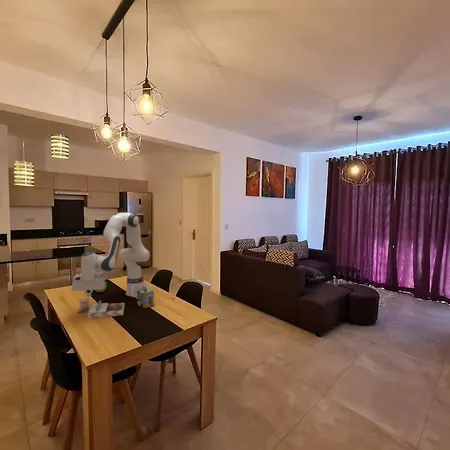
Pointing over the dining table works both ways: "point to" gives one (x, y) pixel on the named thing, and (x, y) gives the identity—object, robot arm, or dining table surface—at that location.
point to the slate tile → (83, 311)
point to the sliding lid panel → (98, 307)
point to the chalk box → (145, 298)
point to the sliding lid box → (109, 311)
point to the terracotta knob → (84, 304)
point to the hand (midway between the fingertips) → (88, 295)
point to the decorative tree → (102, 289)
